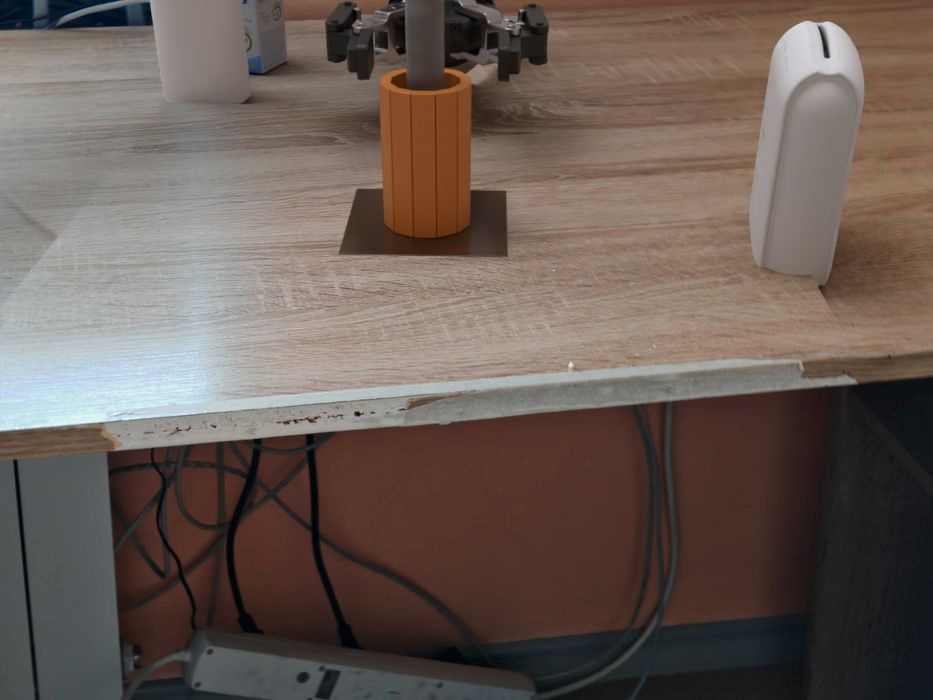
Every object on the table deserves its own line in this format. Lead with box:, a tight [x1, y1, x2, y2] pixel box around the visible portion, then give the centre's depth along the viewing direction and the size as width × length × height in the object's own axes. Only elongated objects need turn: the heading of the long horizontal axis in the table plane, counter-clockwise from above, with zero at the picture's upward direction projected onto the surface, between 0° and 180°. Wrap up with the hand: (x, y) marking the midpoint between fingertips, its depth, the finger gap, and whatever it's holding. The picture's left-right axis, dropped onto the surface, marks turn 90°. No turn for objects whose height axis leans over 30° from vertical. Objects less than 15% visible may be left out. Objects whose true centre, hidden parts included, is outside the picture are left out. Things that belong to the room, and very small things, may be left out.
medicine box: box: [242, 0, 288, 75], centre depth 89 cm, size 8×4×9 cm, turn 70°
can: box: [149, 0, 251, 105], centre depth 79 cm, size 6×6×12 cm
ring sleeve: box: [378, 68, 472, 238], centre depth 59 cm, size 5×5×8 cm
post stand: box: [338, 0, 509, 258], centre depth 57 cm, size 9×9×17 cm
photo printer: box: [748, 20, 866, 287], centre depth 57 cm, size 10×4×12 cm, turn 169°
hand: (433, 64), depth 65 cm, fingers open, 8 cm apart
